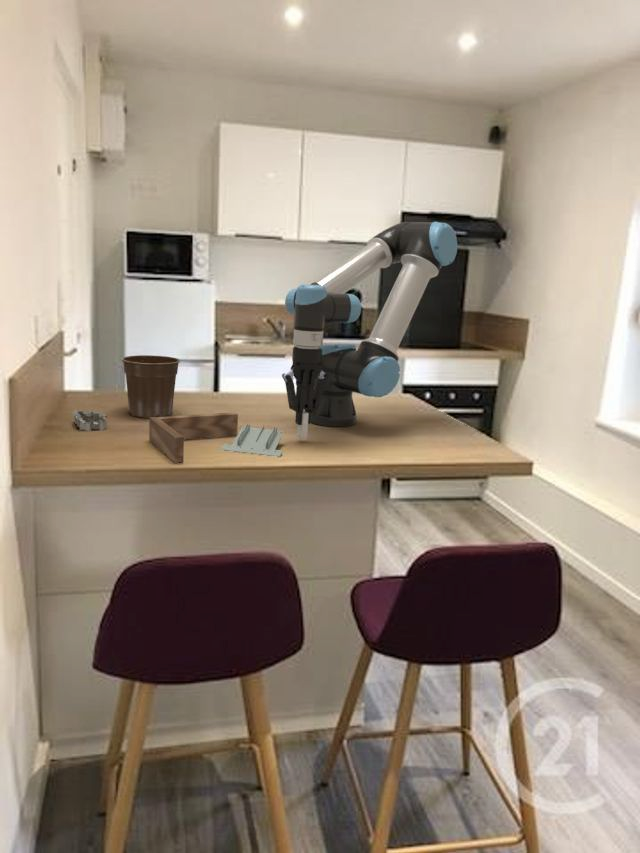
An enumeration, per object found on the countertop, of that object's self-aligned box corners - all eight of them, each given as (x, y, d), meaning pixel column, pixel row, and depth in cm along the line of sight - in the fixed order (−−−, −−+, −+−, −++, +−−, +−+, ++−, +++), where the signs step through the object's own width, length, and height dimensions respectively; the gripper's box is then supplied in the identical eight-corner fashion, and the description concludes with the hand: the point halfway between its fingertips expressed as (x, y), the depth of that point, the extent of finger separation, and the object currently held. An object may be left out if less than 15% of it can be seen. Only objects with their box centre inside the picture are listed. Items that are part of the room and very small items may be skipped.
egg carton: (108, 431, 180) (108, 416, 179) (78, 432, 176) (78, 417, 175) (101, 421, 189) (101, 406, 188) (73, 422, 186) (72, 407, 185)
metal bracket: (235, 418, 178) (292, 424, 176) (237, 437, 181) (292, 443, 179) (217, 446, 166) (278, 453, 164) (219, 466, 169) (278, 473, 167)
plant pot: (131, 405, 208) (131, 352, 204) (184, 409, 208) (185, 356, 204) (114, 418, 192) (113, 361, 188) (171, 422, 192) (172, 365, 188)
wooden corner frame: (234, 434, 184) (234, 412, 182) (266, 454, 168) (267, 430, 166) (149, 440, 172) (149, 417, 171) (174, 463, 156) (175, 437, 154)
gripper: (292, 349, 168) (286, 441, 174) (337, 348, 175) (330, 438, 181) (278, 344, 175) (273, 434, 180) (322, 344, 181) (316, 431, 187)
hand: (302, 436), depth 180 cm, fingers closed
